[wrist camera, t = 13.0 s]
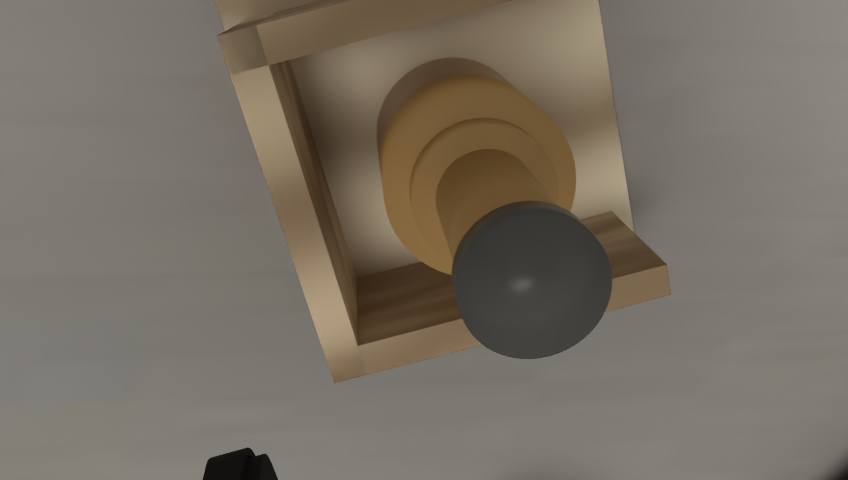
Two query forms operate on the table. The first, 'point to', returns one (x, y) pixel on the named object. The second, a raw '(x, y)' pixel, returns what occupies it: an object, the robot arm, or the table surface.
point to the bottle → (491, 206)
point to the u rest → (359, 162)
